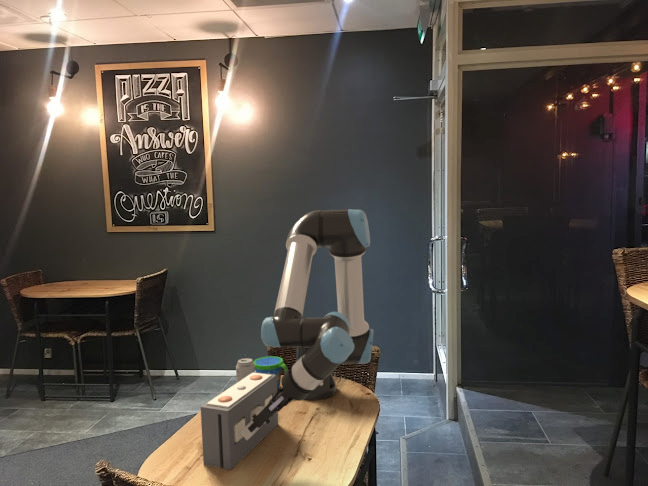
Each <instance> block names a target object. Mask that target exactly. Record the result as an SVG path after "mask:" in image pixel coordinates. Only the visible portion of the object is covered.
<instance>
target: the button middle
mask: <svg viewBox="0 0 648 486" xmlns="http://www.w3.org/2000/svg"><path fill="white" fill-rule="evenodd" d="M264 408H265V407H264V406H256V407H255V408H254V409H252V410H251V411H250V422H251V421H252V420H253V417H252V416H253V415H254V414H256V415H258V414H259V413H260V412H261V411H262V410H263V409H264ZM265 423H266V422H265Z"/></svg>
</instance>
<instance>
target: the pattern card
mask: <svg viewBox="0 0 648 486" xmlns="http://www.w3.org/2000/svg"><path fill="white" fill-rule="evenodd" d="M271 376H272V375H268V374H260V373H251V374H250V375H248V376H247V377H245V378H244V379H242V380H241V381H239V382H238V383H237V382H236V384H235V383H234V384H235V385H234V384H233V386H232V385H231V386H232V387H231V386H229V387H230V388H229V387H228V388H229V389H228V388H226V389H227V390H226V389H225V390H226V391H225V390H223V391H224V392H223V391H222V392H223V393H222V392H221V393H219V394H220V395H219V394H218V395H216V396H217V397H216V396H215V397H213V398H214V399H213V398H211V399H210V400H211V401H210V400H209V401H207V402H208V403H207V402H206V403H207V405H211V406H218V407H224V408H229V407H231V406H232V405H233V404H235V403H236V402H237V401H239V400H240V399H241V398H243V397H244V396H245V395H247V394H248V393H250V392H251V391H252V390H254V389H255V388H256V387H258V386H259V385H260V384H262V383H263V382H264V381H266V380H267V379H269V378H270V377H271Z"/></svg>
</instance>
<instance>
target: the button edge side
mask: <svg viewBox="0 0 648 486" xmlns="http://www.w3.org/2000/svg"><path fill="white" fill-rule="evenodd" d="M244 428H245V418H241V419H240V420H239V421H237V422H236V423H235V424H234V442H236V443H237V442H238V441H239V440H240V439H241V438H242V437H243V435H242V434H241V433H240V432H241V431H242V430H243V429H244Z"/></svg>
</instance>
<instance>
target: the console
mask: <svg viewBox="0 0 648 486" xmlns="http://www.w3.org/2000/svg"><path fill="white" fill-rule="evenodd" d="M252 373H257V372H252ZM250 374H251V373H250ZM250 374H249V375H250ZM260 374H265V373H260ZM268 375H272V376H271V377H270V378H269V379H267V380H266V381H264V382H263V383H262V384H260V385H259V386H258V387H256V388H255V389H254V390H252V391H251V392H250V393H248V394H247V395H245V396H244V397H243V398H241V399H240V400H239V401H237V402H236V403H235V404H233V405H232V406H231V407H229V408H224V407H218V406H211V405H207V403H208V402H209V401H211V400H212V399H214V398H215V397H217V396H218V395H220V394H221V393H223V392H224V391H226V390H227V389H229V388H230V387H232V386H233V385H235V384H236V383H238V382H239V381H238V382H237V381H236V383H234V384H233V385H231V386H229V387H228V388H226V389H225V390H223V391H222V392H221V393H219V394H218V395H216V396H215V397H213V398H212V399H210V400H209V401H207V402H205V403H204V404H203V405H201V406H200V419H201V420H200V421H201V422H200V424H201V440H202V443H201V444H202V461H203V465H204V466H208V467H209V466H210V467H213V468H220V469H221V468H222V467H223V470H227V471H231V470H232V469H233V468H234V467H235V466H237V465H238V464H239V462H241V461H242V459H244V458H245V457H246V456H247V455H248V454H249V453H250V452H251V451H252V450H253V449H254V448H255V447H256V446H257V445H258V444H260V442H262V441H263V440H264V439H265V438H266V436H268V435H269V434H270V433H271V432H272V431H273V430H274V429H275V428H276V427H277V426H278V425H279V411H276V412H275V413H274V414H273V416H272V417H270V418H269V420H270V422H269V423H268V424H267V423H265V424H264V425H263V426H262V427H261V428H259V429H258V430H257V431H256V432H255V433H254V434H253V435H252V436H251V437H250V438H249V439H248V440H246V439H245V438H244V437H242V438H241V439H240V440H239V441H238V442H237V443H236V442H234V424H235V423H236V422H237V421H239V420H240V419H241V418H245V427H246V426H247V425H248V424H249V423H250V411H251V410H252V409H254V408H255V407H256V406H264V407H265V402H264V400H265V399H266V398H267V397H268V396H270V395H272V398H273V397H274V396H275V393H276V392H277V391H278V389H277V378H276V375H274V374H268ZM247 376H248V375H247ZM247 376H246V377H247ZM244 378H245V377H244ZM244 378H243V379H244ZM241 380H242V379H241ZM241 380H240V381H241Z"/></svg>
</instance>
